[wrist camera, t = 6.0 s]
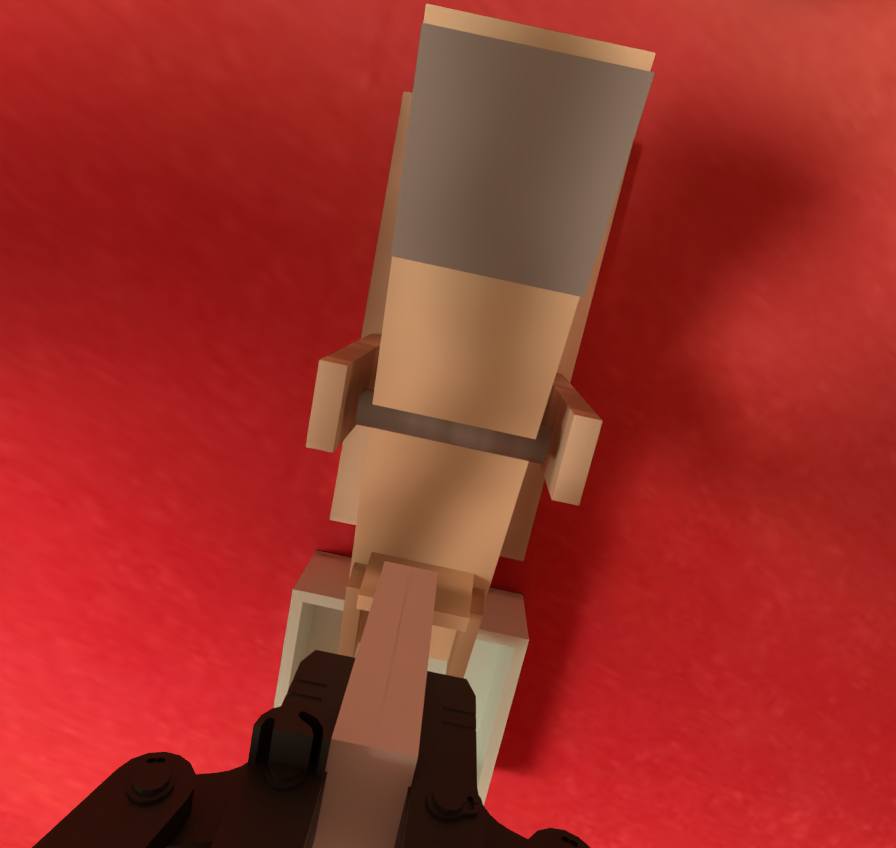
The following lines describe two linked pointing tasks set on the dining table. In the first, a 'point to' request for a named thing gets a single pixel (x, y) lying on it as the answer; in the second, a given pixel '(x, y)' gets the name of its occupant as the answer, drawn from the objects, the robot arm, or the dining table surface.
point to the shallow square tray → (486, 672)
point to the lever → (482, 296)
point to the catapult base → (357, 370)
